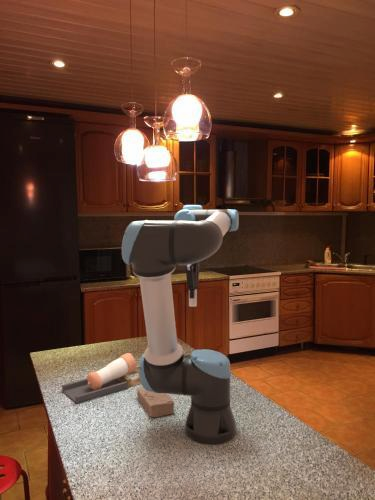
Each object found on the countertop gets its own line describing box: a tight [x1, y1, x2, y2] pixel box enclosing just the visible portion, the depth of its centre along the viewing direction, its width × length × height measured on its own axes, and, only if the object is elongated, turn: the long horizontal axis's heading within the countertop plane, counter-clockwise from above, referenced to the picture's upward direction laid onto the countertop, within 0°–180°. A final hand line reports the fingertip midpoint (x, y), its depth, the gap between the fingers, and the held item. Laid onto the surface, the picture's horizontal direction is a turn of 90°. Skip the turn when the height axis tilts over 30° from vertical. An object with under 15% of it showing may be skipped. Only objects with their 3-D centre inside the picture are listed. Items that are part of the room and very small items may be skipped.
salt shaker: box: [86, 352, 138, 390], centre depth 150 cm, size 7×7×19 cm
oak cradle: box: [116, 365, 142, 388], centre depth 157 cm, size 12×11×3 cm
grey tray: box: [61, 378, 129, 405], centre depth 147 cm, size 20×13×2 cm, turn 129°
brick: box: [136, 385, 175, 418], centre depth 135 cm, size 17×8×5 cm, turn 23°
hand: (192, 306), depth 154 cm, fingers closed
